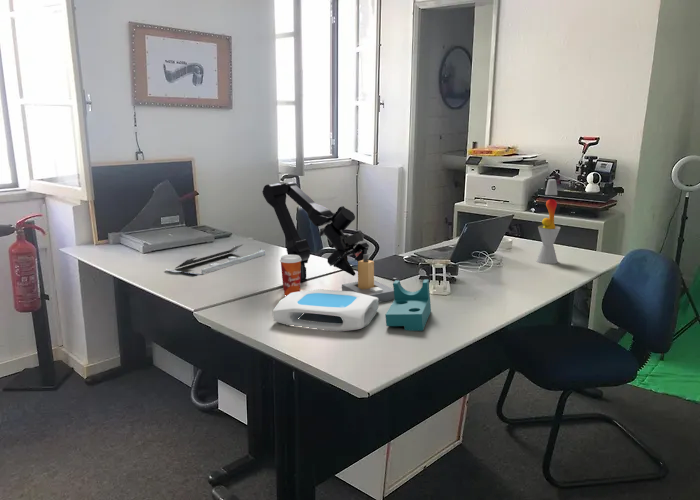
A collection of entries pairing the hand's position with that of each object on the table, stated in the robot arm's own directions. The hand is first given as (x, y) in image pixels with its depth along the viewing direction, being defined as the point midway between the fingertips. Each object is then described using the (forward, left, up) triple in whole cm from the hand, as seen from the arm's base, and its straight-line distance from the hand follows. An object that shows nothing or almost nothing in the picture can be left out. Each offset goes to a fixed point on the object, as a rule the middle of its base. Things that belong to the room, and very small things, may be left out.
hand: (362, 272), depth 203 cm
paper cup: (-22, +12, -8) cm, 26 cm away
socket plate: (+1, -3, -8) cm, 9 cm away
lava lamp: (+90, -1, -8) cm, 91 cm away
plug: (+1, -1, -8) cm, 8 cm away
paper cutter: (-32, +73, -8) cm, 80 cm away
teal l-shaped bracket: (-1, -32, -8) cm, 33 cm away
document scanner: (-22, -16, -8) cm, 29 cm away
